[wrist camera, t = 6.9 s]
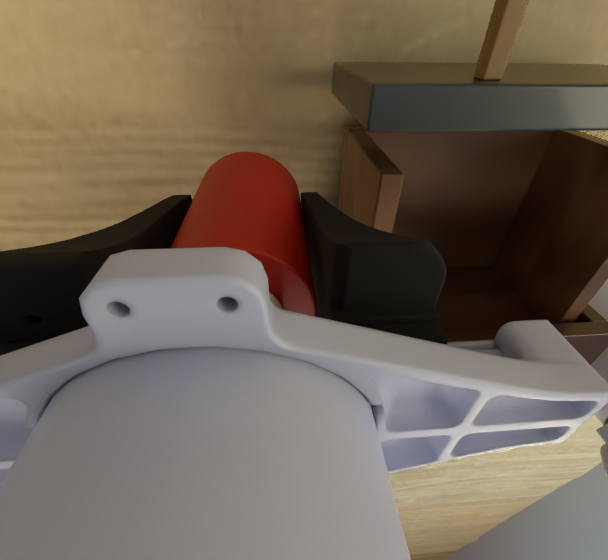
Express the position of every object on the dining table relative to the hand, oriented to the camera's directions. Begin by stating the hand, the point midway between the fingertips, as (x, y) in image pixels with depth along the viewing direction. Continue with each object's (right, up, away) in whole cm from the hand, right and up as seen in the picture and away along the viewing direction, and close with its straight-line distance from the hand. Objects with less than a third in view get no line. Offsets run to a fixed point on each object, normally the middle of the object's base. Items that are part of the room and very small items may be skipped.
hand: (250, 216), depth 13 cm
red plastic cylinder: (0, +1, +1) cm, 1 cm away
